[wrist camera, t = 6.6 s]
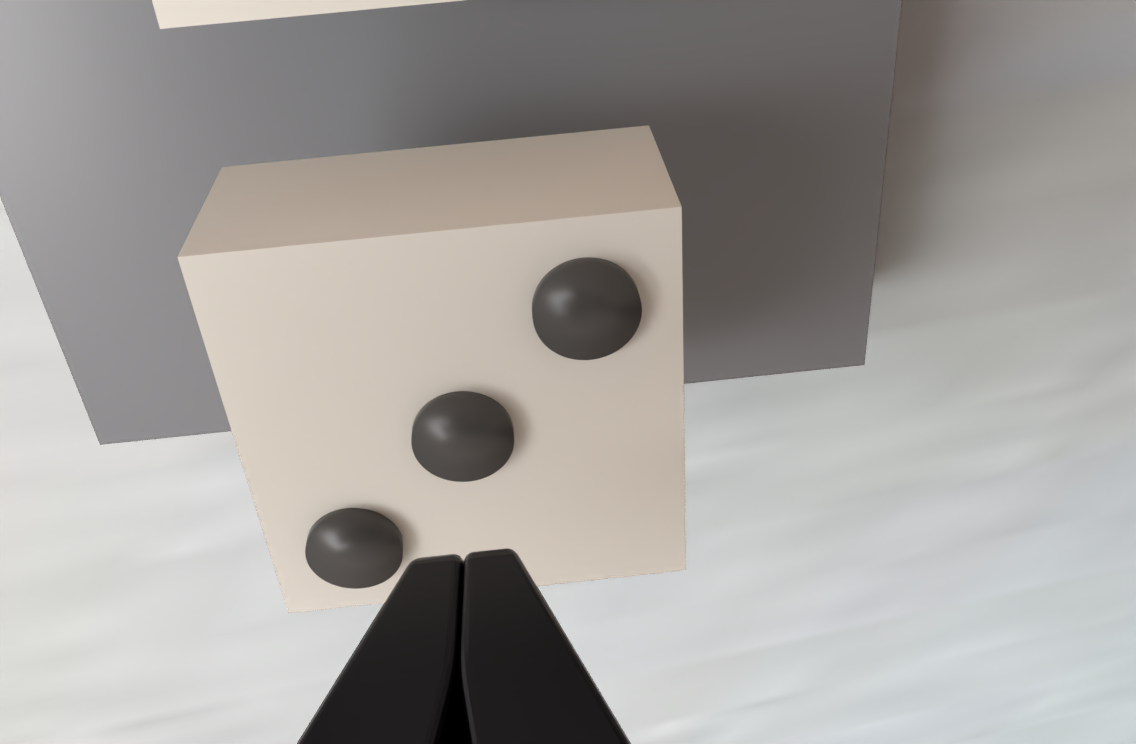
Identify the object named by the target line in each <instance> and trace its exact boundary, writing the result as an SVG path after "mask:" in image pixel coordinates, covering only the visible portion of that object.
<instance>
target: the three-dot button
mask: <svg viewBox="0 0 1136 744" xmlns="http://www.w3.org/2000/svg"><path fill="white" fill-rule="evenodd" d="M177 258H178V261H179V264H180V267H181V271H182V274H183V277H184V280H185V283H186V287H187V290H188V293H189V296H190V299H191V303H192V306H193V309H194V312H195V315H196V319H197V322H198V325H199V328H200V331H201V335H202V338H203V341H204V344H205V347H206V351H207V354H208V357H209V360H210V363H211V367H212V370H213V373H214V376H215V379H216V383H217V386H218V389H219V392H220V395H221V399H222V402H223V405H224V408H225V412H226V415H227V418H228V421H229V424H230V428H231V431H232V434H233V437H234V440H235V444H236V447H237V450H238V453H239V456H240V460H241V463H242V466H243V469H244V472H245V476H246V479H247V482H248V485H249V488H250V492H251V495H252V498H253V501H254V504H255V508H256V511H257V514H258V517H259V520H260V524H261V527H262V530H263V533H264V536H265V540H266V543H267V546H268V549H269V552H270V556H271V559H272V562H273V565H274V568H275V572H276V575H277V578H278V581H279V584H280V588H281V591H282V594H283V597H284V600H285V604H286V607H287V610H288V613H296V612H306V611H315V610H324V609H333V608H342V607H351V606H361V605H370V604H379V603H385V601H386V600H387V598H388V596H389V595H390V593H391V591H392V590H393V588H394V587H395V585H396V583H397V582H398V580H399V579H400V577H401V575H402V574H403V572H404V571H405V569H406V567H407V566H408V564H409V563H410V562H411V561H413V560H414V559H416V558H421V557H431V556H440V555H449V554H457V555H459V556H460V557H461V558H462V559H463V560H464V559H465V557H466V555H468V554H469V553H471V552H477V551H486V550H496V549H505V548H509V549H512V550H514V551H515V552H516V553H517V554H518V555H519V557H520V559H521V560H522V562H523V564H524V565H525V567H526V569H527V570H528V572H529V574H530V575H531V577H532V579H533V580H534V582H535V584H536V585H537V586H544V585H553V584H562V583H571V582H580V581H589V580H599V579H608V578H617V577H626V576H635V575H644V574H654V573H663V572H672V571H681V570H686V530H685V446H684V363H683V279H682V206H681V204H680V201H679V199H678V196H677V194H676V191H675V189H674V186H673V184H672V182H671V179H670V177H669V174H668V172H667V169H666V167H665V164H664V162H663V159H662V157H661V154H660V152H659V149H658V147H657V144H656V142H655V139H654V137H653V134H652V132H651V129H650V127H649V125H647V126H636V127H626V128H616V129H606V130H596V131H585V132H575V133H565V134H555V135H544V136H534V137H524V138H514V139H503V140H493V141H483V142H473V143H462V144H452V145H442V146H432V147H422V148H411V149H401V150H391V151H381V152H370V153H360V154H350V155H340V156H329V157H319V158H309V159H299V160H289V161H278V162H268V163H258V164H248V165H237V166H227V167H222V168H221V170H220V172H219V174H218V176H217V178H216V180H215V182H214V184H213V186H212V188H211V190H210V192H209V194H208V196H207V198H206V200H205V202H204V204H203V206H202V208H201V210H200V212H199V214H198V216H197V218H196V220H195V222H194V224H193V226H192V228H191V230H190V232H189V235H188V237H187V239H186V241H185V243H184V245H183V247H182V249H181V251H180V253H179V255H178V257H177Z"/></svg>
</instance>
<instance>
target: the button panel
mask: <svg viewBox="0 0 1136 744" xmlns="http://www.w3.org/2000/svg"><path fill="white" fill-rule="evenodd" d="M901 4H902V0H463V1H453V2H442V3H432V4H421V5H410V6H400V7H389V8H378V9H368V10H357V11H347V12H336V13H325V14H315V15H304V16H293V17H283V18H272V19H262V20H251V21H240V22H230V23H219V24H208V25H198V26H187V27H176V28H166V29H160V27H159V24H158V20H157V17H156V13H155V10H154V6H153V3H152V0H0V197H1V200H2V202H3V205H4V207H5V210H6V212H7V215H8V217H9V220H10V222H11V225H12V227H13V230H14V232H15V235H16V237H17V240H18V242H19V245H20V247H21V250H22V252H23V254H24V257H25V259H26V262H27V264H28V267H29V269H30V272H31V274H32V277H33V279H34V282H35V284H36V287H37V289H38V292H39V294H40V297H41V299H42V302H43V304H44V307H45V309H46V312H47V314H48V317H49V319H50V321H51V324H52V326H53V329H54V331H55V334H56V336H57V339H58V341H59V344H60V346H61V349H62V351H63V354H64V356H65V359H66V361H67V364H68V366H69V369H70V371H71V374H72V376H73V379H74V381H75V383H76V386H77V388H78V391H79V393H80V396H81V398H82V401H83V403H84V406H85V408H86V411H87V413H88V416H89V418H90V421H91V423H92V426H93V428H94V431H95V433H96V436H97V438H98V441H99V443H100V445H102V444H111V443H121V442H131V441H140V440H150V439H159V438H169V437H178V436H188V435H198V434H207V433H217V432H226V431H231V428H230V424H229V421H228V418H227V415H226V412H225V408H224V405H223V402H222V399H221V395H220V392H219V389H218V386H217V383H216V379H215V376H214V373H213V370H212V367H211V363H210V360H209V357H208V354H207V351H206V347H205V344H204V341H203V338H202V335H201V331H200V328H199V325H198V322H197V319H196V315H195V312H194V309H193V306H192V303H191V299H190V296H189V293H188V290H187V287H186V283H185V280H184V277H183V274H182V271H181V267H180V264H179V261H178V258H177V257H178V255H179V253H180V251H181V249H182V247H183V245H184V243H185V241H186V239H187V237H188V235H189V232H190V230H191V228H192V226H193V224H194V222H195V220H196V218H197V216H198V214H199V212H200V210H201V208H202V206H203V204H204V202H205V200H206V198H207V196H208V194H209V192H210V190H211V188H212V186H213V184H214V182H215V180H216V178H217V176H218V174H219V172H220V170H221V168H222V167H227V166H237V165H248V164H258V163H268V162H278V161H289V160H299V159H309V158H319V157H329V156H340V155H350V154H360V153H370V152H381V151H391V150H401V149H411V148H422V147H432V146H442V145H452V144H462V143H473V142H483V141H493V140H503V139H514V138H524V137H534V136H544V135H555V134H565V133H575V132H585V131H596V130H606V129H616V128H626V127H636V126H647V125H649V127H650V129H651V132H652V134H653V137H654V139H655V142H656V144H657V147H658V149H659V152H660V154H661V157H662V159H663V162H664V164H665V167H666V169H667V172H668V174H669V177H670V179H671V182H672V184H673V186H674V189H675V191H676V194H677V196H678V199H679V201H680V204H681V206H682V279H683V363H684V384H686V383H696V382H705V381H715V380H724V379H734V378H743V377H753V376H763V375H772V374H782V373H791V372H801V371H810V370H820V369H830V368H839V367H849V366H858V365H864V363H865V354H866V344H867V334H868V324H869V315H870V305H871V295H872V286H873V276H874V266H875V257H876V247H877V237H878V227H879V218H880V208H881V198H882V189H883V179H884V169H885V159H886V150H887V140H888V130H889V121H890V111H891V101H892V91H893V82H894V72H895V62H896V53H897V43H898V33H899V23H900V14H901Z"/></svg>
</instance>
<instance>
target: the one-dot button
mask: <svg viewBox="0 0 1136 744" xmlns="http://www.w3.org/2000/svg"><path fill="white" fill-rule="evenodd" d="M453 1H463V0H152V3H153V6H154V10H155V13H156V17H157V20H158V24H159V27H160V29H166V28H176V27H187V26H198V25H208V24H219V23H230V22H240V21H251V20H262V19H272V18H283V17H293V16H304V15H315V14H325V13H336V12H347V11H357V10H368V9H378V8H389V7H400V6H410V5H421V4H432V3H442V2H453Z"/></svg>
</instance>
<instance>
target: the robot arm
mask: <svg viewBox="0 0 1136 744" xmlns="http://www.w3.org/2000/svg"><path fill="white" fill-rule="evenodd" d="M297 744H631V743H630V741H629V739H628V738H627V736H626V734H625V733H624V731H623V729H622V728H621V726H620V724H619V723H618V721H617V719H616V718H615V716H614V714H613V713H612V711H611V709H610V708H609V706H608V704H607V703H606V701H605V699H604V698H603V696H602V694H601V693H600V691H599V689H598V688H597V686H596V684H595V683H594V681H593V679H592V678H591V676H590V674H589V673H588V671H587V669H586V667H585V666H584V664H583V662H582V661H581V659H580V657H579V656H578V654H577V652H576V651H575V649H574V647H573V646H572V644H571V642H570V641H569V639H568V637H567V636H566V634H565V632H564V631H563V629H562V627H561V626H560V624H559V622H558V621H557V619H556V617H555V616H554V614H553V612H552V611H551V609H550V607H549V606H548V604H547V602H546V600H545V599H544V597H543V595H542V594H541V592H540V590H539V589H538V587H537V585H536V584H535V582H534V580H533V579H532V577H531V575H530V574H529V572H528V570H527V569H526V567H525V565H524V564H523V562H522V560H521V559H520V557H519V555H518V554H517V553H516V552H515V551H514V550H512V549H509V548H505V549H496V550H486V551H477V552H471V553H469V554H468V555H466V557H465V559H464V560H463V559H462V558H461V557H460V556H459V555H457V554H449V555H440V556H431V557H421V558H416V559H414V560H413V561H411V562H410V563H409V564H408V566H407V567H406V569H405V571H404V572H403V574H402V575H401V577H400V579H399V580H398V582H397V583H396V585H395V587H394V588H393V590H392V591H391V593H390V595H389V596H388V598H387V600H386V601H385V603H384V604H383V606H382V608H381V609H380V611H379V612H378V614H377V616H376V617H375V619H374V620H373V622H372V624H371V625H370V627H369V628H368V630H367V632H366V633H365V635H364V636H363V638H362V640H361V641H360V643H359V645H358V646H357V648H356V649H355V651H354V653H353V654H352V656H351V657H350V659H349V661H348V662H347V664H346V665H345V667H344V669H343V670H342V672H341V673H340V675H339V677H338V678H337V680H336V682H335V683H334V685H333V686H332V688H331V690H330V691H329V693H328V694H327V696H326V698H325V699H324V701H323V702H322V704H321V706H320V707H319V709H318V710H317V712H316V714H315V715H314V717H313V718H312V720H311V722H310V723H309V725H308V727H307V728H306V730H305V731H304V733H303V735H302V736H301V738H300V739H299V741H298V743H297Z"/></svg>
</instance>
